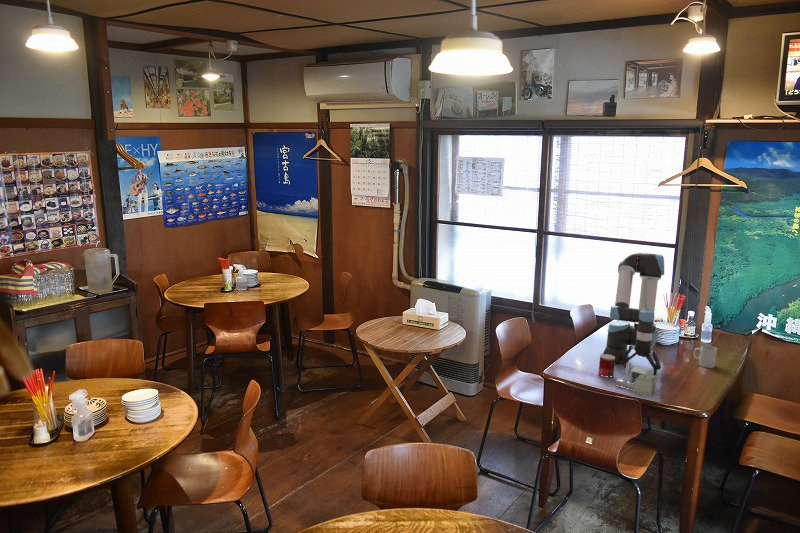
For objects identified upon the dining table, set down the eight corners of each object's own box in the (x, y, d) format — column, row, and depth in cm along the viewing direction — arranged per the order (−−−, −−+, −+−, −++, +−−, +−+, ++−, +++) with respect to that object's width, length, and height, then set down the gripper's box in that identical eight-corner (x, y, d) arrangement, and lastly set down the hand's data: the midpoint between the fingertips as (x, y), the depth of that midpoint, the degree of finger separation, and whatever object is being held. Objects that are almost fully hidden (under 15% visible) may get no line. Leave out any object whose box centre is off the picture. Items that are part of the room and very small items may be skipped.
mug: (715, 365, 365) (718, 347, 363) (713, 369, 358) (715, 351, 356) (693, 360, 372) (696, 342, 369) (690, 364, 365) (693, 346, 363)
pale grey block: (614, 387, 328) (615, 373, 326) (619, 383, 333) (620, 369, 332) (649, 397, 316) (651, 382, 315) (654, 393, 322) (656, 378, 320)
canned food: (611, 379, 339) (613, 360, 337) (596, 375, 343) (598, 356, 341) (614, 374, 345) (616, 355, 343) (600, 371, 350) (602, 352, 347)
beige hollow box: (634, 380, 338) (635, 366, 337) (647, 384, 334) (649, 369, 332) (628, 384, 332) (630, 370, 330) (642, 388, 327) (644, 374, 326)
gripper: (617, 335, 333) (613, 373, 337) (666, 346, 317) (661, 385, 321) (622, 332, 338) (618, 369, 342) (670, 343, 323) (665, 381, 327)
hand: (639, 377), depth 332 cm, fingers open, 13 cm apart
